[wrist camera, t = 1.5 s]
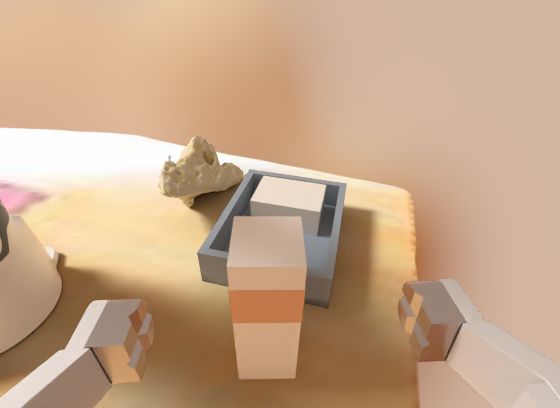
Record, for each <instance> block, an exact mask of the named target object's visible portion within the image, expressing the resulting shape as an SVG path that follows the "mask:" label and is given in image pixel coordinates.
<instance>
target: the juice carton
mask: <svg viewBox="0 0 560 408" xmlns="http://www.w3.org/2000/svg"><path fill="white" fill-rule="evenodd" d="M306 272H307V262H306V254H305V246H304V237H303V229H302V221H301V216H234V219H233V226H232V233H231V240H230V247H229V254H228V260H227V275H228V285H229V290H228V292H229V301H230V310H231V319H232V323H233V330H234V339H235V348H236V357H237V367H238V376H239V379H295V375H296V366H297V357H298V347H299V338H300V328H301V323H302V317H303V307H304V298H305V281H306Z"/></svg>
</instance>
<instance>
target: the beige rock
mask: <svg viewBox="0 0 560 408" xmlns="http://www.w3.org/2000/svg"><path fill="white" fill-rule="evenodd" d="M170 157H171V156H169V161H166V162H165V163H164V166H163V169H162V171H161V174H160V177H159V179H160V180H159V184H158V186H159V188H160V190H161V191H160V193H161V194H163V195H165V196H167V197H175V198H179V199H181V200H182V201H183V203H184V204H185V205H187V207H190V206H192V205H193V203H194V197H196V196H199V195H200V194H203V193H209V192H213V191H215V192H219V191H225V190H227V189H228V188H229V187H232V186H233V185H235V184H237V183H239V182H240V181H241V180H242V177H243V172H242V171H241V170H240V168H239V167H237V166H235V165H234V164H232V163H224V164H222V165H221V166H220V164H219V161H218V158H217V154H216V152H215V150H214V148H213V146H212V145H211V144H208V143H207V141H206V140H205V139H204V138H202V137H199V136H194V137H193V138H192V139H191V141H190V143H189V144H188V146H186V148H185V149H184V150H183V151H182V152H181V155H180V157H179V160H178V161H177V162H176V163H174V162H172V161H171V160H170Z"/></svg>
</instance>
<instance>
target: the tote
mask: <svg viewBox="0 0 560 408" xmlns="http://www.w3.org/2000/svg"><path fill="white" fill-rule="evenodd" d="M263 176H270V177H277V178H284V179H290V180H297V181H304V182H311V183H317V184H324V185H326V192H325V199H324V207H323V212H322V216H321V221H320V225H319V230H318V234H317V236H312V235H306V234H303V237H304V246H305V254H306V262H307V272H306V281H305V298H304V303H308V304H312V305H317V306H322V307H326V308H328V304H329V298H330V293H331V287H332V282H333V276H334V268H335V261H336V254H337V247H338V240H339V233H340V226H341V219H342V212H343V205H344V198H345V191H346V183H339V182H332V181H325V180H318V179H312V178H305V177H298V176H291V175H284V174H278V173H271V172H264V171H257V170H249V171H248V173H247V174H246V176H245V178H244V179H243V181H242V182H241V184H240V186H239V187H238V189H237V190H236V192H235V194H234V195H233V197H232V198H231V200H230V201H229V203H228V205H227V206H226V208H225V209H224V211H223V213H222V214H221V216H220V217H219V219H218V221H217V222H216V224H215V225H214V227H213V229H212V230H211V232H210V233H209V235H208V237H207V238H206V240H205V241H204V243H203V244H202V246H201V248H200V249H199V251H198V252H197V254H198V259H199V265H200V270H201V276H202V281H206V282H210V283H215V284H220V285H224V286H229V285H228V275H227V260H228V254H229V247H230V240H231V233H232V226H233V219H234V216H251V210H250V200H251V198H252V196H253V194H254V192H255V191H256V189H257V187H258V185H259V183H260V181H261V180H262V178H263Z"/></svg>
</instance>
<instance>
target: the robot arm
mask: <svg viewBox="0 0 560 408" xmlns="http://www.w3.org/2000/svg"><path fill="white" fill-rule="evenodd" d="M58 258H59V254H58V252H57V251H56V250H55V249H54V248H53V247H43V246H42V244H41V243H40V241H39V240H38V239H37V237H36V236H35V235H34V233H33V232H32V231H31V229H30V228H29V226H28V225H27V224H26V222H25V221H24V220H23V219H22V217H20V216H19V215H17V214H15V215H14V214H10V213H8V212H7V211H6V209H5V207H4V205H3V202H2V200H1V199H0V353H2V352H4V351H6V350H7V349H9V348H11V347H12V346H14V345H15V344H17V343H18V342H20V341H21V340H22V339H24V338H25V337H26V336H28V335H29V334H30V333H31V332H32V331H34V330H35V329H36V328H37V327H38V326H39V325H40V324H41V323H42V322H43V321H44V320H45V319H46V318H47V316H48V315H49V314H50V312H51V311H52V310H53V308H54V307H55V305H56V303H57V301H58V299H59V296H60V293H61V289H62V281H61V277H60V275H59V273H58V271H57V268H56V266H57V262H58ZM402 291H403V293H404V295H405V296H403V297H402V298H401V299H400V300H399V305H398V313H399V318H400V322H401V325H402V327H403V329H404V330H405V331H406V332H408V333H409V334H410V335H411V337H410V340H409V343H410V345H411V348H412V350H413V352H414V354H415V357H416V359H417V361H418V362H427V361H446V363H447V364H448V365H449V366H450V367H451V368H452V369H453V370H454V371H455V372H456V373H457V374H458V375H460V376H461V377H462V378H463V379H464V380H465V381H466V382H467V383H468V384H469V385H470V386H471V387H472V388H473V389H475V390H476V391H477V392H478V393H479V394H480V395H481V396H482V397H483V398H484V399H485V400H486V401H487V402H488V403H489V404H491V405H492V406H493V407H494V408H560V365H559V364H557V363H555V362H554V361H552V360H551V359H549V358H547V357H546V356H544V355H543V354H541V353H540V352H538V351H536V350H535V349H533V348H532V347H530V346H529V345H527V344H525V343H524V342H522V341H521V340H519V339H518V338H516V337H514V336H513V335H511V334H510V333H508V332H506V331H505V330H503V329H502V328H500V327H499V326H497V325H495V324H494V323H492V322H491V321H485V320H484V318H483V317H482V316H481V315H480V313H479V311H478V310H477V309H476V307H475V306H474V304H473V303H472V301H471V300H470V299H469V297H468V296H467V294H466V293H465V291H464V290H463V289H462V287H461V286H460V284H459V283H458V282H457V281H456V280H455V279H441V280H424V281H411V282H406V283H405V284H404V286H403V289H402ZM148 307H149V305H148V303H147V301H146V299H117V300H97V301H93V302H92V303H91V304H89V306H88V308H87V309H86V311H85V313H84V315H83V317H82V319H81V320H80V322H79V324H78V326H77V328H76V330H75V332H74V333H73V335H72V337H71V339H70V341H69V343H68V345H67V346H66V348H65V350H59V351H58V352H57V353H55V354H54V355H53V356H52V357H50V358H49V359H48V360H47V361H45V362H44V363H43V364H42V365H40V366H39V367H38V368H37V369H35V370H34V371H33V372H32V373H30V374H29V375H28V376H27V377H25V378H24V379H23V380H22V381H20V382H19V383H18V384H17V385H15V386H14V387H13V388H12V389H10V390H9V391H8V392H7V393H5V394H4V395H3V396H2V397H0V408H94V407H95V405H96V404H97V403H98V402H99V401H100V400H101V398H102V397H103V396H104V395H105V394H106V392H107V391H108V390H109V389H110V388H111V387H112V384H122V383H132V382H141V380H142V377H143V373H144V370H145V367H146V363H147V358H146V355H145V352H146V351H147V350H148V349H149V348H150V347H151V346H152V343H153V339H154V332H155V324H154V319H153V316H152V315H151V314H149V313H148V312H147V310H148Z"/></svg>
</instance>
